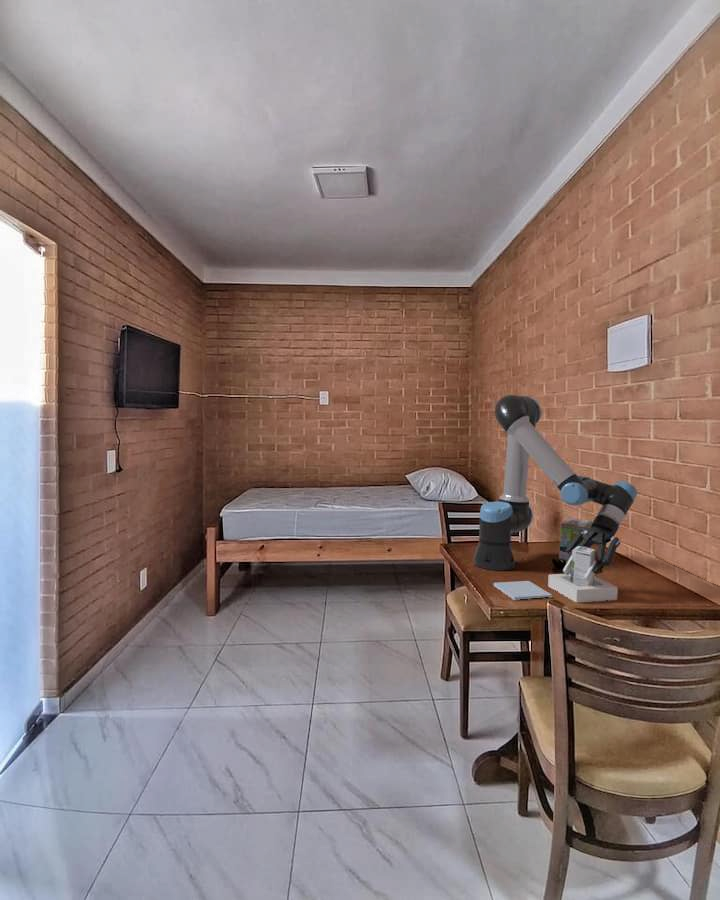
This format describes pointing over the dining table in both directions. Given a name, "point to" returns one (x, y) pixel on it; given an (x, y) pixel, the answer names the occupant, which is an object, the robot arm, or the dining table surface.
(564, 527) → the tea box
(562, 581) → the white tray
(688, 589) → the dining table surface
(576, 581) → the syrup box
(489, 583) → the dining table surface
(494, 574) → the dining table surface
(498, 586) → the board
